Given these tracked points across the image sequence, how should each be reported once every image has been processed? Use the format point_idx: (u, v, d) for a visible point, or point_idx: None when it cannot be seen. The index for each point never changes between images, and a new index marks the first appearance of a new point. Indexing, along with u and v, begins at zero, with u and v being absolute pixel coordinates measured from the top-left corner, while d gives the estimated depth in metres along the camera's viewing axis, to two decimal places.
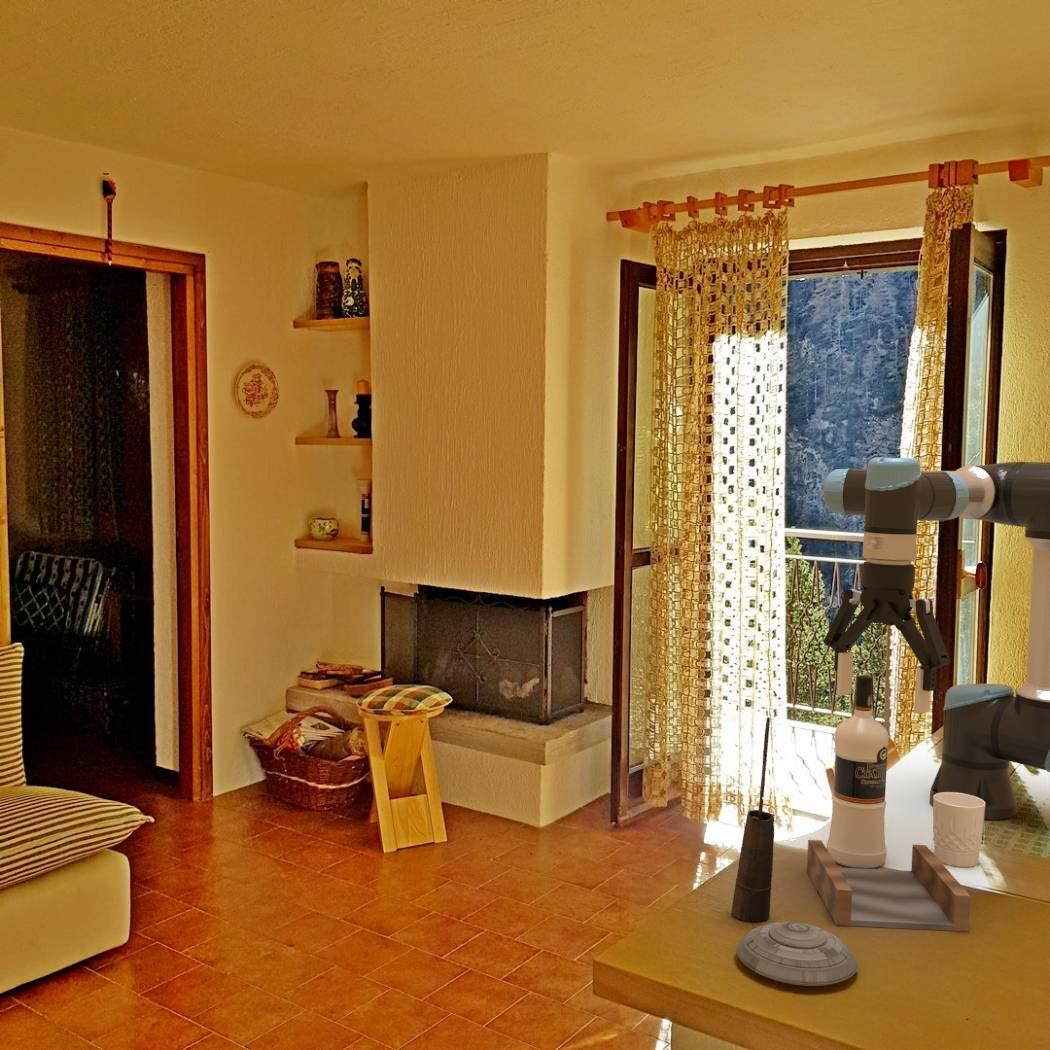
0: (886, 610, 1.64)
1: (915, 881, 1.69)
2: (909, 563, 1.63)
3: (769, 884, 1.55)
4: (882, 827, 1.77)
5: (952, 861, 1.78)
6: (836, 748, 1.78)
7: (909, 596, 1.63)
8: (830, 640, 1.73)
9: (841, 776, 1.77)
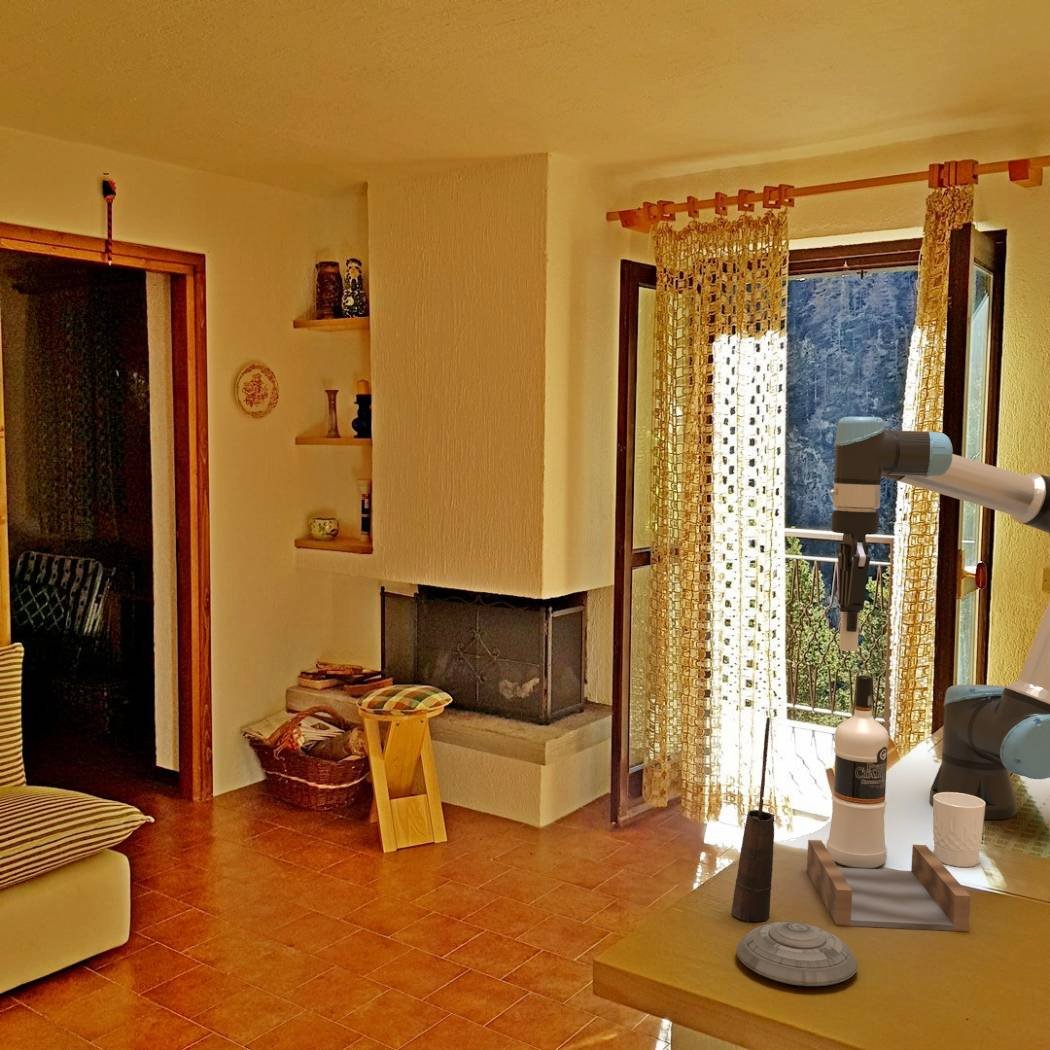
0: (843, 551, 1.85)
1: (915, 881, 1.69)
2: (864, 510, 1.83)
3: (769, 884, 1.55)
4: (882, 827, 1.77)
5: (952, 861, 1.78)
6: (836, 748, 1.78)
7: (859, 540, 1.82)
8: (839, 597, 1.90)
9: (841, 776, 1.77)
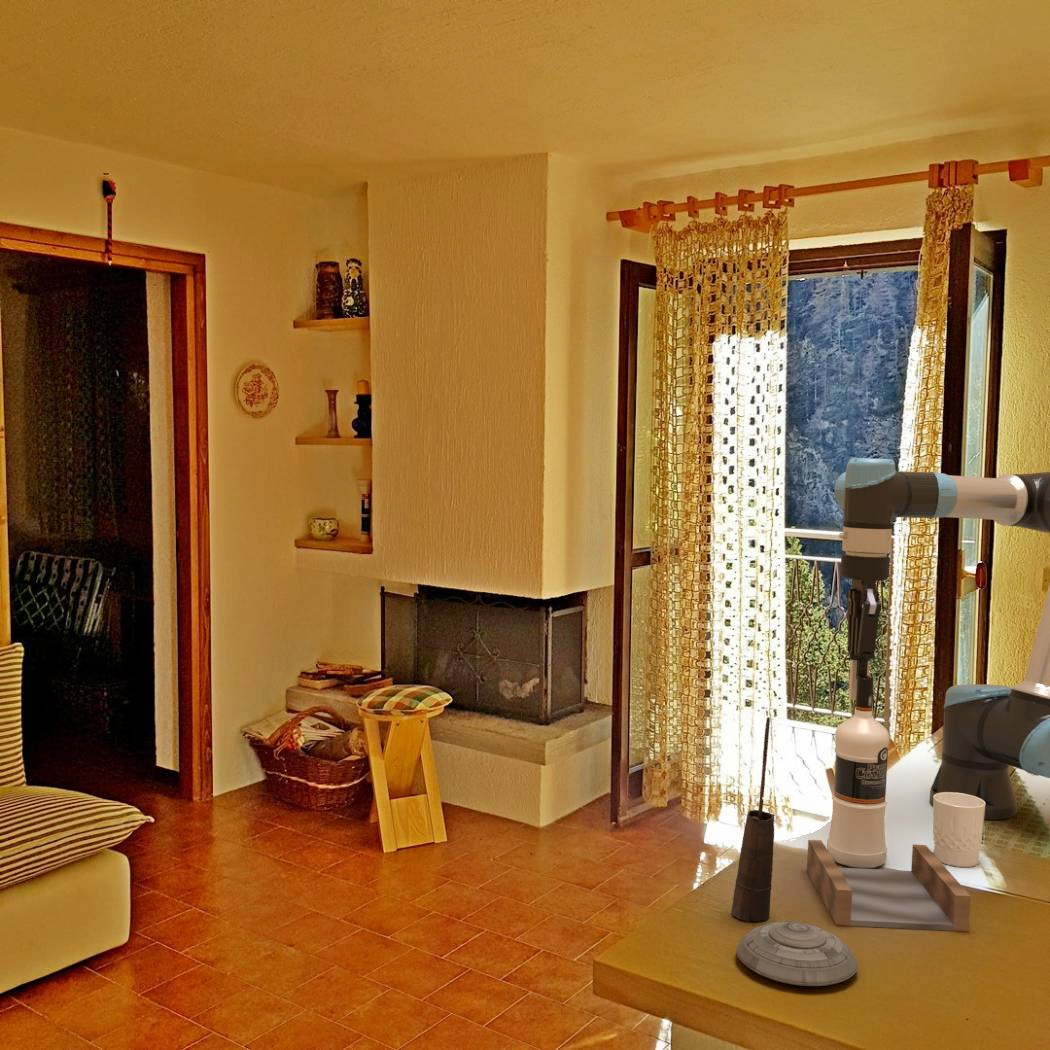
0: (852, 597, 1.79)
1: (915, 881, 1.69)
2: (875, 556, 1.76)
3: (769, 884, 1.55)
4: (882, 827, 1.77)
5: (952, 861, 1.78)
6: (836, 748, 1.78)
7: (870, 586, 1.76)
8: (849, 643, 1.83)
9: (841, 776, 1.77)
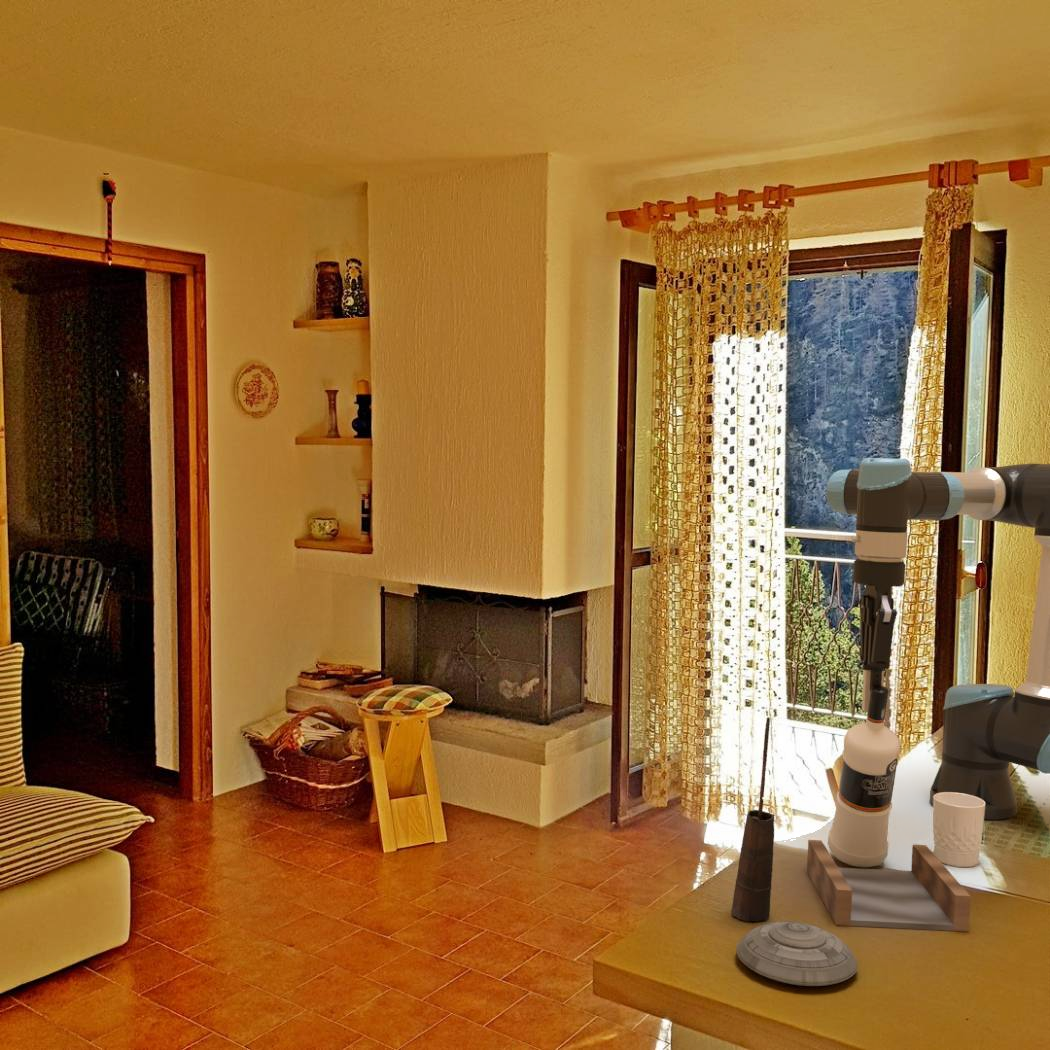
0: (866, 604, 1.70)
1: (915, 881, 1.69)
2: (889, 561, 1.68)
3: (769, 884, 1.55)
4: (886, 828, 1.75)
5: (952, 861, 1.78)
6: (844, 755, 1.73)
7: (884, 593, 1.67)
8: (862, 653, 1.75)
9: (847, 783, 1.73)
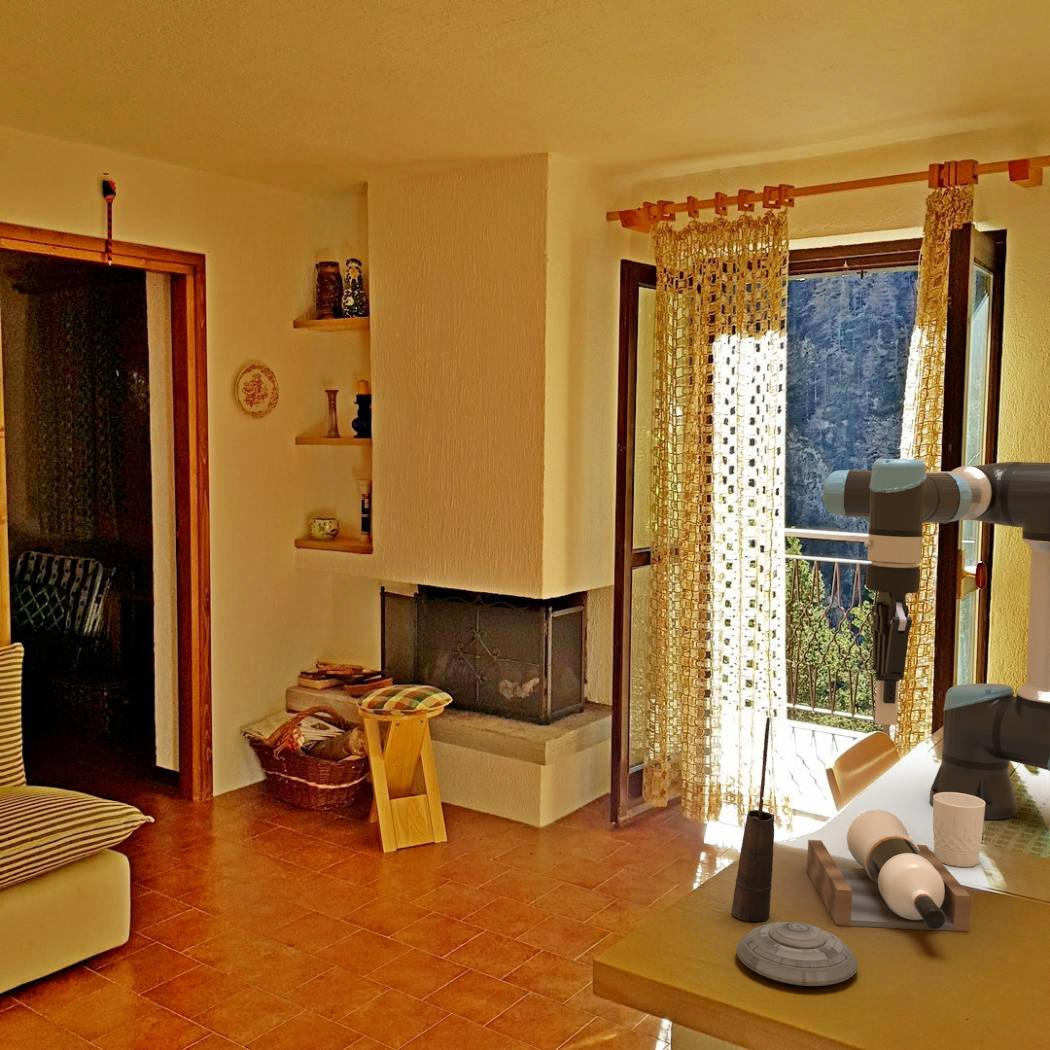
0: (879, 611, 1.63)
1: None
2: (904, 566, 1.60)
3: (769, 884, 1.55)
4: None
5: (952, 861, 1.78)
6: (882, 874, 1.57)
7: (899, 600, 1.60)
8: (875, 662, 1.67)
9: (873, 874, 1.61)
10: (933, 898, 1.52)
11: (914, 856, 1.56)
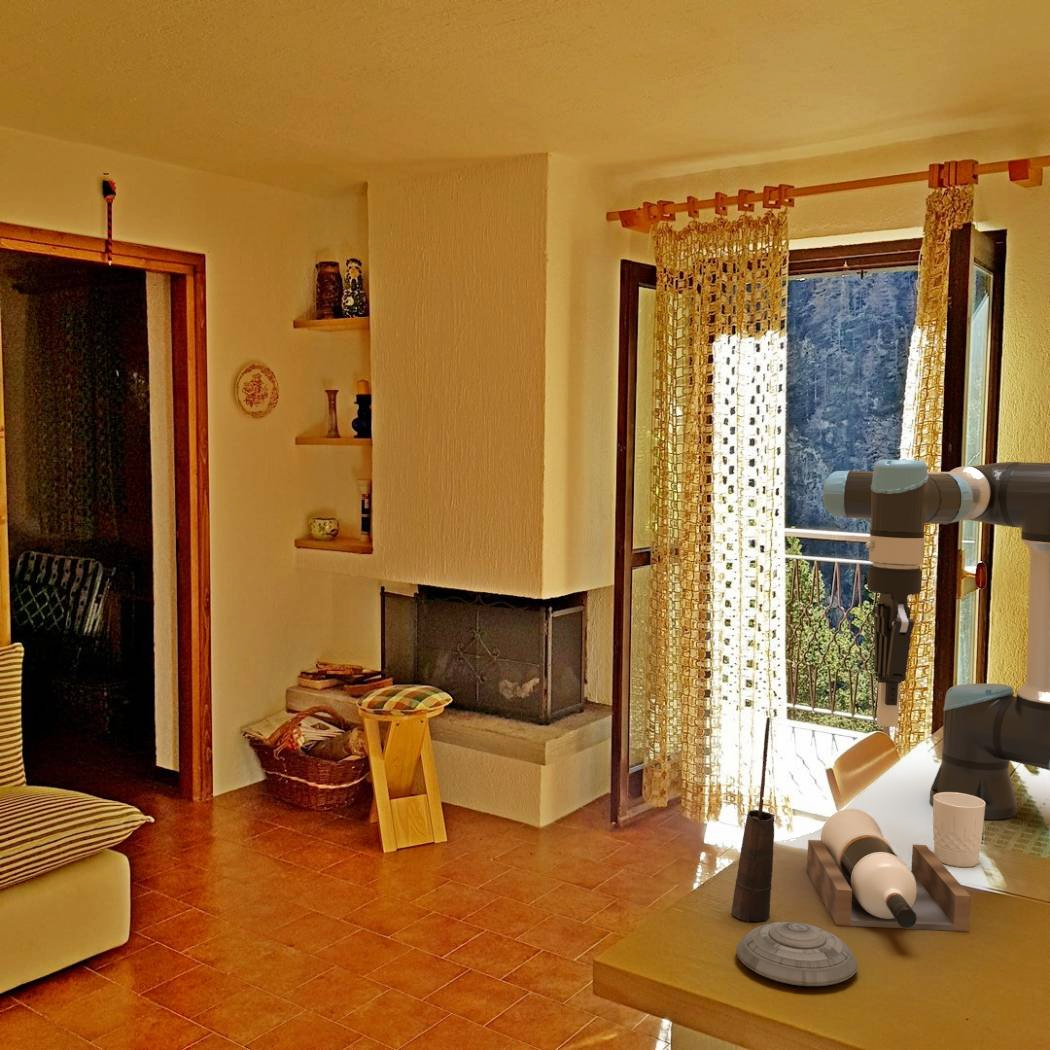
0: (881, 613, 1.62)
1: None
2: (906, 568, 1.59)
3: (769, 884, 1.55)
4: None
5: (952, 861, 1.78)
6: None
7: (900, 601, 1.59)
8: (876, 664, 1.66)
9: None
10: (900, 886, 1.52)
11: (862, 862, 1.56)
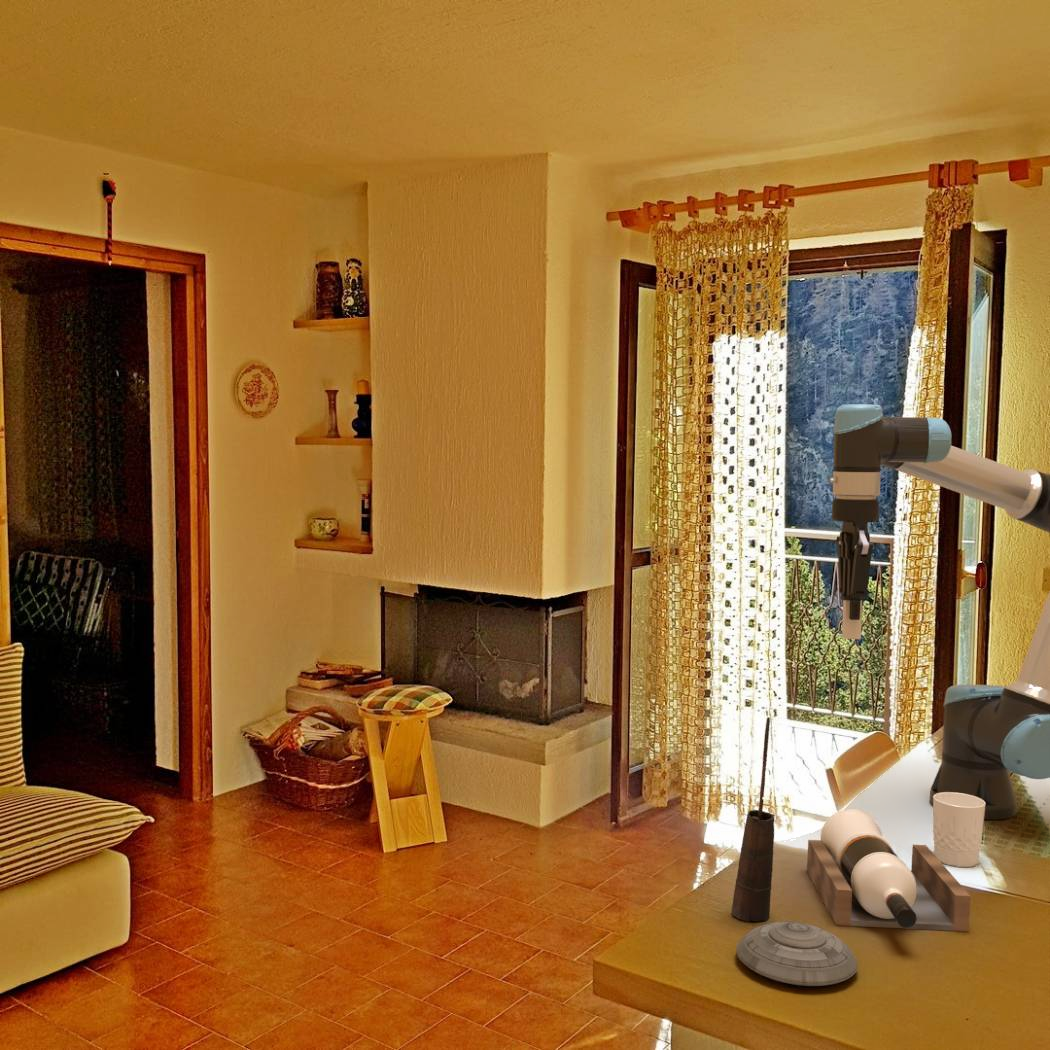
0: (844, 539, 1.85)
1: None
2: (865, 498, 1.82)
3: (769, 884, 1.55)
4: None
5: (952, 861, 1.78)
6: None
7: (861, 528, 1.82)
8: (841, 585, 1.89)
9: None
10: (900, 886, 1.52)
11: (862, 862, 1.56)
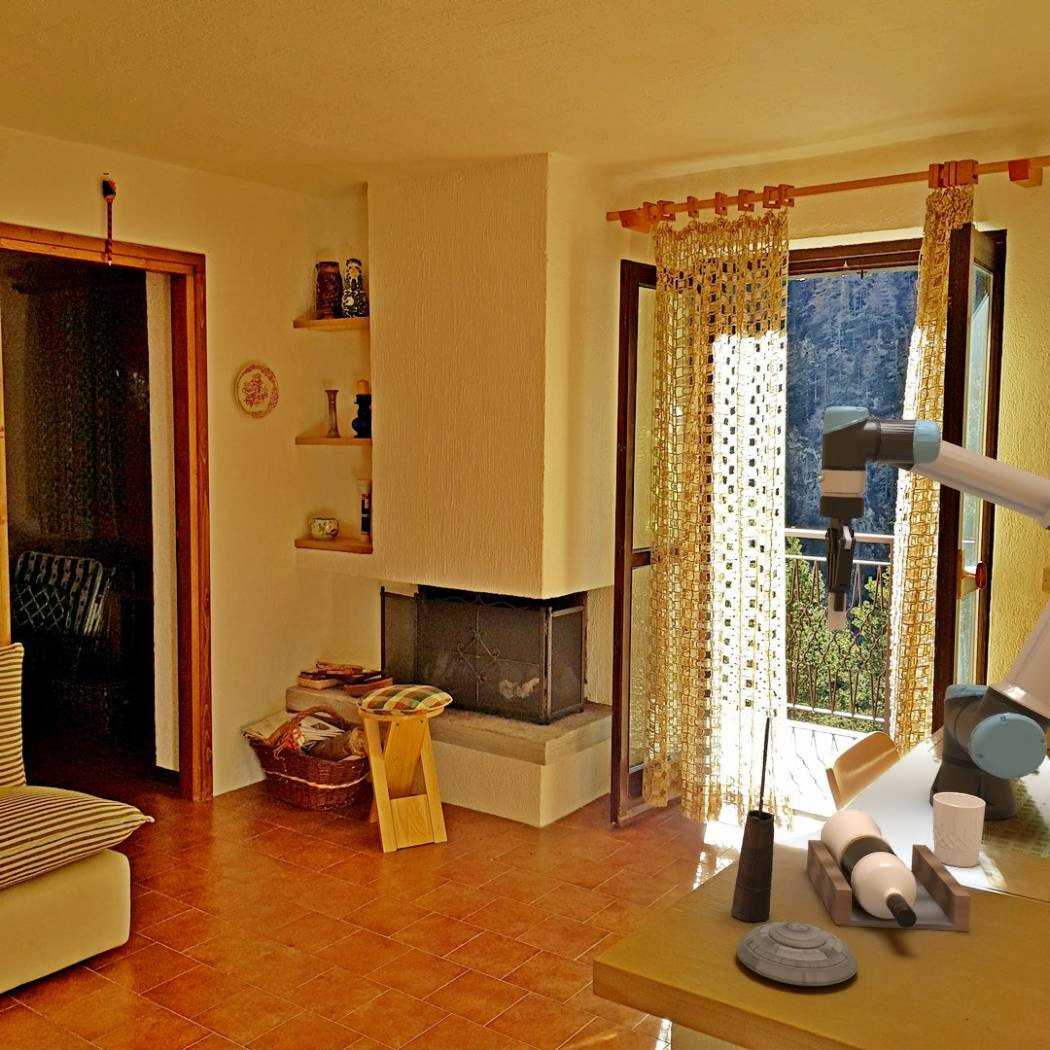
0: (830, 535, 1.94)
1: None
2: (850, 496, 1.92)
3: (769, 884, 1.55)
4: None
5: (952, 861, 1.78)
6: None
7: (846, 524, 1.92)
8: (827, 579, 1.99)
9: None
10: (900, 886, 1.52)
11: (862, 862, 1.56)
